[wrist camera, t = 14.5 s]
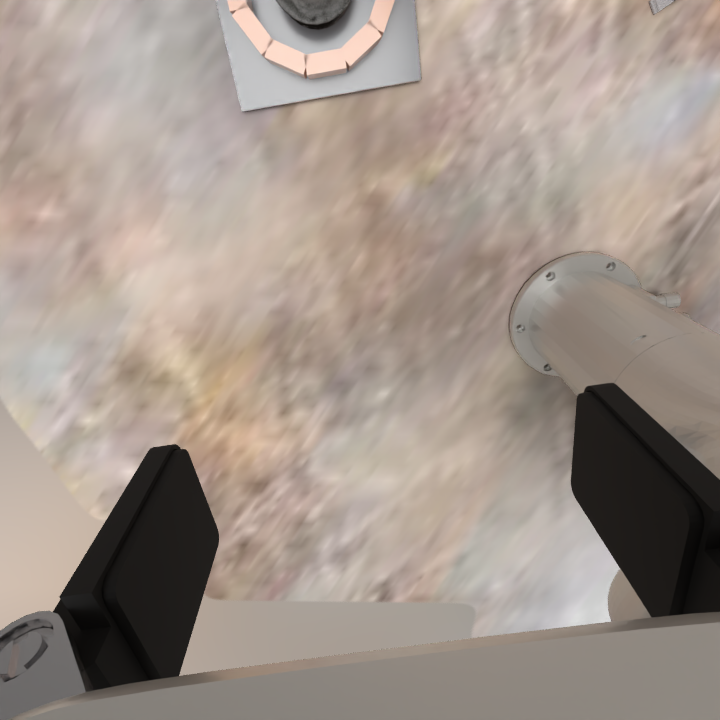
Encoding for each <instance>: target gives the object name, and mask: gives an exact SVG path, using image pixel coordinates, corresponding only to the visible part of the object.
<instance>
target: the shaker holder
mask: <svg viewBox="0 0 720 720" xmlns="http://www.w3.org/2000/svg"><path fill="white" fill-rule="evenodd" d="M215 1H216V6H217V10H218V14H219V18H220V22H221V27H222V31H223V35H224V39H225V43H226V48H227V52H228V56H229V60H230V64H231V69H232V73H233V77H234V81H235V85H236V90H237V94H238V98H239V102H240V106H241V111H242V112H247V111H252V110H258V109H264V108H269V107H275V106H281V105H286V104H292V103H298V102H303V101H309V100H315V99H320V98H326V97H332V96H337V95H343V94H349V93H354V92H360V91H366V90H371V89H377V88H383V87H388V86H394V85H400V84H405V83H411V82H417V81H420V80H421V70H420V58H419V46H418V34H417V22H416V10H415V0H351V1H350V3H349V6H348V8H347V10H346V11H345V13H344V15H343V16H342V17H341V18H340V19H339V20H338V22H337V23H335V24H333V25H332V26H330V27H328V28H324V29H320V30H317V29H309V28H306V27H304V26H301V25H300V24H298V23H297V22H296V21H294V20H293V19H292V18H291V17H290V15H288V14H287V13H286V12H285V11H284V10H283V9H282V8H281V6H280V5H279V4H278V2H277V1H276V0H215Z"/></svg>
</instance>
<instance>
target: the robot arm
mask: <svg viewBox="0 0 720 720" xmlns="http://www.w3.org/2000/svg"><path fill="white" fill-rule="evenodd" d="M607 264H608V265H607ZM547 273H549V275H548V276H546V275H547ZM680 303H681V298H680V295H679V294H678V293H675V292H674V293H668V294H661V295H660V296H655V295H653V294H651V293H649V292H647V291H645V290H643V289H642V288H641V284H640V282H639V280H638V278H637V276H636V274H635V273H634V272H633V271H632V270H631V269H630V268H629V267H628V266H627V265H626V264H624V263H623V262H621V261H620V260H618V259H616V258H613V257H611V256H609V255H605V254H601V253H597V252H580V253H574V254H569V255H566V256H564V257H561V258H558V259H556V260H554V261H552V262H550V263H549V264H547V265H545V266H544V267H542V268H541V269H540V270H539V271H537V272H536V273H535V274H534V275H533V276H532V277H531V278H530V279H529V280H528V281H527V282H526V283H525V285H524V286H523V288H522V289H521V291H520V292H519V294H518V295H517V297H516V300H515V302H514V304H513V307H512V311H511V315H510V325H509V330H510V336H511V341H512V343H513V345H514V348H515V350H516V351H517V353H518V354H519V355H520V357H521V358H522V359H523V360H524V361H525V362H526V363H527V365H529V366H530V367H532V368H533V369H535V370H536V371H538V372H541V373H543V374H546V375H551V376H556V377H560V378H561V379H562V380H563V381H564V382H565V383H566V384H567V385H568V386H569V388H570V389H571V390H572V391H573V392H574V393H575V394H576V395H577V405H576V419H575V433H574V446H573V460H572V474H571V487H572V491H573V494H574V496H575V498H576V500H577V501H578V503H579V504H580V506H581V508H582V509H583V511H584V512H585V514H586V515H587V517H588V519H589V520H590V522H591V523H592V525H593V526H594V528H595V530H596V531H597V533H598V534H599V536H600V537H601V539H602V541H603V542H604V544H605V545H606V547H607V548H608V550H609V552H610V553H611V555H612V556H613V558H614V559H615V561H616V563H617V564H618V566H619V567H620V570H619V571H618V572H617V574H616V576H615V577H614V579H613V581H612V584H611V586H610V589H609V595H608V611H609V615H610V619H611V622H605V623H596V624H588V625H579V626H571V627H563V628H554V629H546V630H537V631H529V632H520V633H512V634H503V635H495V636H487V637H478V638H470V639H462V640H454V641H447V642H439V643H430V644H422V645H414V646H406V647H398V648H390V649H382V650H374V651H366V652H358V653H350V654H343V655H334V656H326V657H318V658H311V659H303V660H296V661H288V662H280V663H272V664H265V665H257V666H249V667H242V668H235V669H226V670H218V671H211V672H204V673H197V674H191V675H183V676H179V674H180V670H181V667H182V664H183V660H184V657H185V654H186V650H187V647H188V644H189V640H190V637H191V634H192V631H193V627H194V624H195V621H196V617H197V614H198V611H199V607H200V604H201V601H202V597H203V594H204V591H205V587H206V584H207V581H208V577H209V574H210V571H211V568H212V564H213V561H214V558H215V554H216V551H217V548H218V543H219V533H218V529H217V526H216V523H215V521H214V518H213V516H212V513H211V510H210V508H209V505H208V503H207V500H206V497H205V495H204V492H203V490H202V487H201V484H200V482H199V479H198V477H197V474H196V471H195V469H194V466H193V464H192V461H191V458H190V456H189V453H188V451H187V450H185V449H180V447H179V446H178V445H176V444H174V445H167V446H160V447H153V448H151V449H150V450H149V451H148V453H147V454H146V456H145V458H144V459H143V461H142V463H141V464H140V466H139V467H138V469H137V471H136V472H135V474H134V476H133V477H132V479H131V481H130V482H129V484H128V485H127V487H126V489H125V490H124V492H123V494H122V495H121V497H120V499H119V500H118V502H117V504H116V505H115V507H114V508H113V510H112V512H111V513H110V515H109V517H108V518H107V520H106V522H105V523H104V525H103V527H102V528H101V530H100V531H99V533H98V535H97V536H96V538H95V540H94V542H93V543H92V545H91V546H90V548H89V549H88V551H87V553H86V554H85V556H84V558H83V559H82V561H81V563H80V564H79V566H78V568H77V569H76V571H75V572H74V574H73V576H72V577H71V579H70V581H69V582H68V584H67V586H66V587H65V589H64V590H63V592H62V594H61V595H60V601H59V603H58V605H57V606H56V608H55V610H54V611H53V612H51V611H40V612H35V613H32V614H29V615H26V616H24V617H22V618H20V619H18V620H16V621H14V622H12V623H10V624H9V625H8V626H6V627H5V628H4V629H2V630H1V631H0V720H720V335H719V334H717V333H715V332H713V331H711V330H709V329H708V328H706V327H704V326H702V325H700V324H698V323H696V322H694V321H693V320H691V318H690V316H689V315H688V314H687V313H678V312H676V311H674V310H672V309H670V308H675V307H678V306H680ZM518 325H520V326H519V327H517V326H518Z"/></svg>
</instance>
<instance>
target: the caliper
mask: <svg viewBox="0 0 720 720" xmlns="http://www.w3.org/2000/svg"><path fill="white" fill-rule="evenodd" d="M673 1H675V0H650V1H649V4H650V6H651V9H652V12H653V15H654V14H656V13H657V12H659V11H661V10H662V9H663V8H665V7H666V6H668V5H669V4H670V3H672V2H673Z"/></svg>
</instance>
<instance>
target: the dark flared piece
mask: <svg viewBox="0 0 720 720" xmlns="http://www.w3.org/2000/svg"><path fill="white" fill-rule="evenodd" d="M276 1H277V2H278V4H279V5H280V6H281V8H282V9H283V10H284V11H285V12H286V13H287V14H288V15H290V17H291V18H292V19H293V20H294V21H296V22H297V23H298V24H300V25H301V26H304V27H306V28H309V29H317V30H320V29H324V28H328V27H330V26H332V25H333V24H335V23H337V22H338V20H339V19H340V18H341V17H342V16H343V15H344V13H345V11H346V10H347V8H348V6H349V3H350V1H351V0H276Z"/></svg>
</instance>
